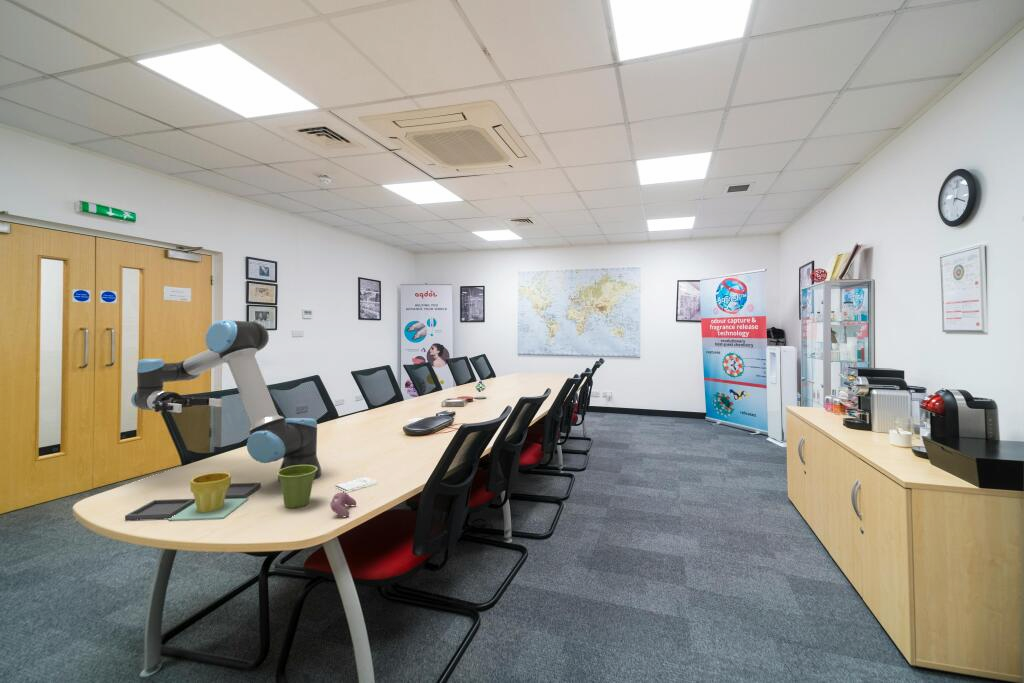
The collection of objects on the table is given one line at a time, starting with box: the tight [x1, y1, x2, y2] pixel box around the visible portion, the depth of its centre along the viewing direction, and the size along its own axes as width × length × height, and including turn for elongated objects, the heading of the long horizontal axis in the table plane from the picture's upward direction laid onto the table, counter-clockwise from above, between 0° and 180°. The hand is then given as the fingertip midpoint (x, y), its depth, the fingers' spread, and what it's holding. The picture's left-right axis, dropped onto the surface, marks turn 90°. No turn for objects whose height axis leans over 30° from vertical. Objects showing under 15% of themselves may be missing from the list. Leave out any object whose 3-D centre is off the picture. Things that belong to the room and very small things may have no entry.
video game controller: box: [329, 491, 357, 517], centre depth 130 cm, size 10×5×7 cm, turn 7°
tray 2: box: [225, 482, 262, 499], centre depth 144 cm, size 12×12×2 cm
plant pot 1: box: [189, 471, 232, 512], centre depth 130 cm, size 10×10×10 cm
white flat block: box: [334, 476, 378, 491], centre depth 154 cm, size 2×8×12 cm
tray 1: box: [124, 498, 195, 521], centre depth 128 cm, size 12×12×2 cm
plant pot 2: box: [276, 465, 318, 509], centre depth 136 cm, size 12×12×11 cm
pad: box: [167, 497, 249, 521], centre depth 130 cm, size 15×15×1 cm
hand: (201, 405), depth 147 cm, fingers open, 13 cm apart
